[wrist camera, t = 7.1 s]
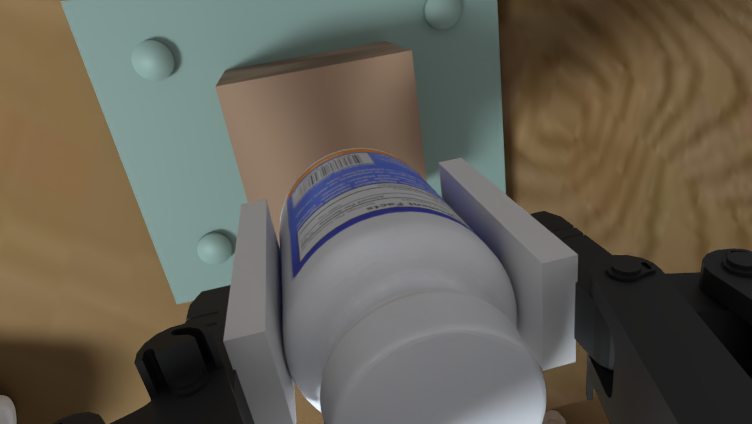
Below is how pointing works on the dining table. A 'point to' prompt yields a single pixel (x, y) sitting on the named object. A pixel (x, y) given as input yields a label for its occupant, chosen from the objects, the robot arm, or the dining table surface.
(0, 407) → the mug
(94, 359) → the dining table surface
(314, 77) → the walnut block
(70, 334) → the dining table surface
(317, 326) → the pill bottle
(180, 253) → the build board
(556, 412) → the brick
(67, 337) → the dining table surface
